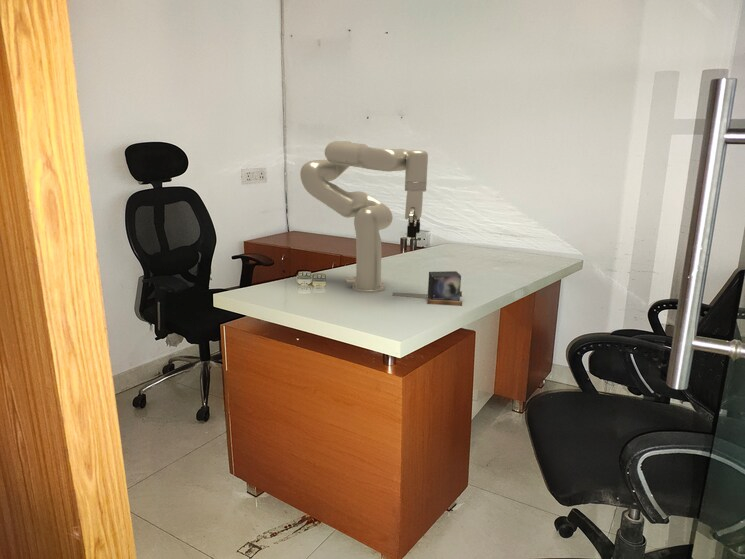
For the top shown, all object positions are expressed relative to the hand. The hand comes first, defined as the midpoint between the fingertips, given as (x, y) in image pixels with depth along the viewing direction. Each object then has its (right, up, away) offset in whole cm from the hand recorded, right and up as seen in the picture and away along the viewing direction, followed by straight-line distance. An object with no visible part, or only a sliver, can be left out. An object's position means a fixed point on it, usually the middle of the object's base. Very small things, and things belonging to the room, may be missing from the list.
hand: (413, 234), depth 186 cm
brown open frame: (+11, -24, +1) cm, 26 cm away
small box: (+11, -24, +1) cm, 26 cm away
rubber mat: (-1, -23, +3) cm, 23 cm away
